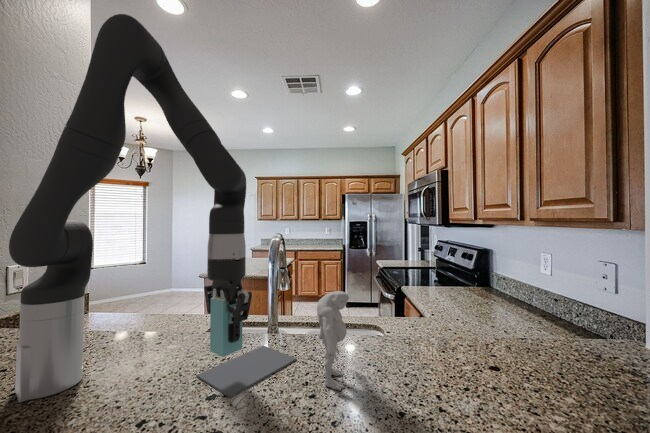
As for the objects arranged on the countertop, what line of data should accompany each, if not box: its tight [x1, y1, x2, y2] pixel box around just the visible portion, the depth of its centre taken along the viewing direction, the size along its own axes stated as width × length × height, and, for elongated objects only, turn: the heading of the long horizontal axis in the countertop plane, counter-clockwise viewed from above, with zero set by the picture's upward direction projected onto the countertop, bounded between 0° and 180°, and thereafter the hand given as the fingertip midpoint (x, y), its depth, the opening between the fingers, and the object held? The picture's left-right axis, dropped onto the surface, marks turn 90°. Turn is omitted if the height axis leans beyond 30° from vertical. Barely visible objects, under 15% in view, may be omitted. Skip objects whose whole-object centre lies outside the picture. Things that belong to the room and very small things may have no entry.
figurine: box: [316, 290, 350, 392], centre depth 57 cm, size 18×7×18 cm, turn 1°
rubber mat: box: [196, 345, 298, 399], centre depth 62 cm, size 18×12×1 cm, turn 143°
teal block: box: [209, 297, 243, 358], centre depth 57 cm, size 4×4×11 cm
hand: (226, 337), depth 57 cm, fingers closed on teal block, 4 cm apart
